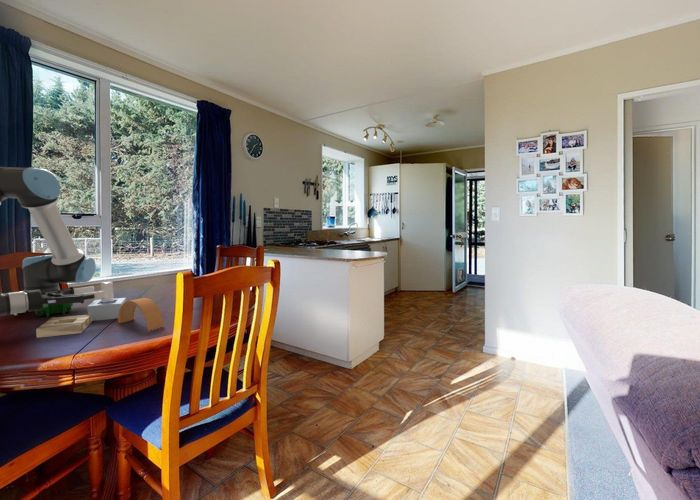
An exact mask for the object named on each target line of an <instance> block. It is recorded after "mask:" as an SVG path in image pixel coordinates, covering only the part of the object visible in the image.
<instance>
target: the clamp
mask: <svg viewBox="0 0 700 500" xmlns="http://www.w3.org/2000/svg"><path fill="white" fill-rule="evenodd" d="M73 304H74V303H68V304H55V305H48V303H47V304H43V308H42V309H41V310H37V311H34V312H35V315H36V316H37V317H43V315H44V316H46V317H47V318H49V317H50V315H57V314H63V315H65V314H66V313H69V312H71V310H72V307H73V306H74V305H73Z"/></svg>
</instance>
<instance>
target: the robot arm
mask: <svg viewBox="0 0 700 500" xmlns="http://www.w3.org/2000/svg"><path fill="white" fill-rule="evenodd" d="M61 191H62V190H61V184H60V181H59V179H58V178H57V176H56V175H55V174H54V173H53V172H51V171H49V170H47V169H44V168H39V167H11V166H10V167H9V166H8V167H7V166H0V206H1V205H2V202H3V201H5V200H7V199H17V201H18V203H19V205H20V206H21V207H22V208H24V209H26V210H27V209H28V212H30V215H31V217H32V218H33V221H34V222H35V224H36V226H37V228H38V230H39V232H40V234H41V236H42V238H43V239H44V240H45V244H46V245H47V246H48V249H49V250H50V252H51V254H45V255H37V256H30V257H24V259H22V266H21V269H22V278H23V289H24V290H21V291H14V292H13V291H12V292H6V293H5V292H4V293H2V290H1V289H2V287H1V284H0V317H1V316H9V315H14V316H18V314H22V313H26V312H27V311H28V312H35V311H37V310H41V309H42V308H43V304H47V303H48V305H55V304H68V303H73V304H79V303H80V304H85V302H86V301H94V300H101V298H105V296H104V291H101V290H100V291H95V286H86V287H77V288H74V286H69V287H68V288H64V289H61V288H60V284H84V283H87V282H90V281H91V280H92V278H93V277H94V275H95V272H96V267H97V266H96V262H95V259H94V258H93V257H90V256H88V257H87V256H86V254H85V253H84V251H83V250H82V249H79V248H77V246H76V244H75V241H74V240H73V237H72V235H71V233H70V230H69V229H68V227H67V224H66V223H65V220H64V218H63V216H62V214H61V212H60V209H59V207H58V205H57V201H58V200H59V196H60V195H61Z"/></svg>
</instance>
